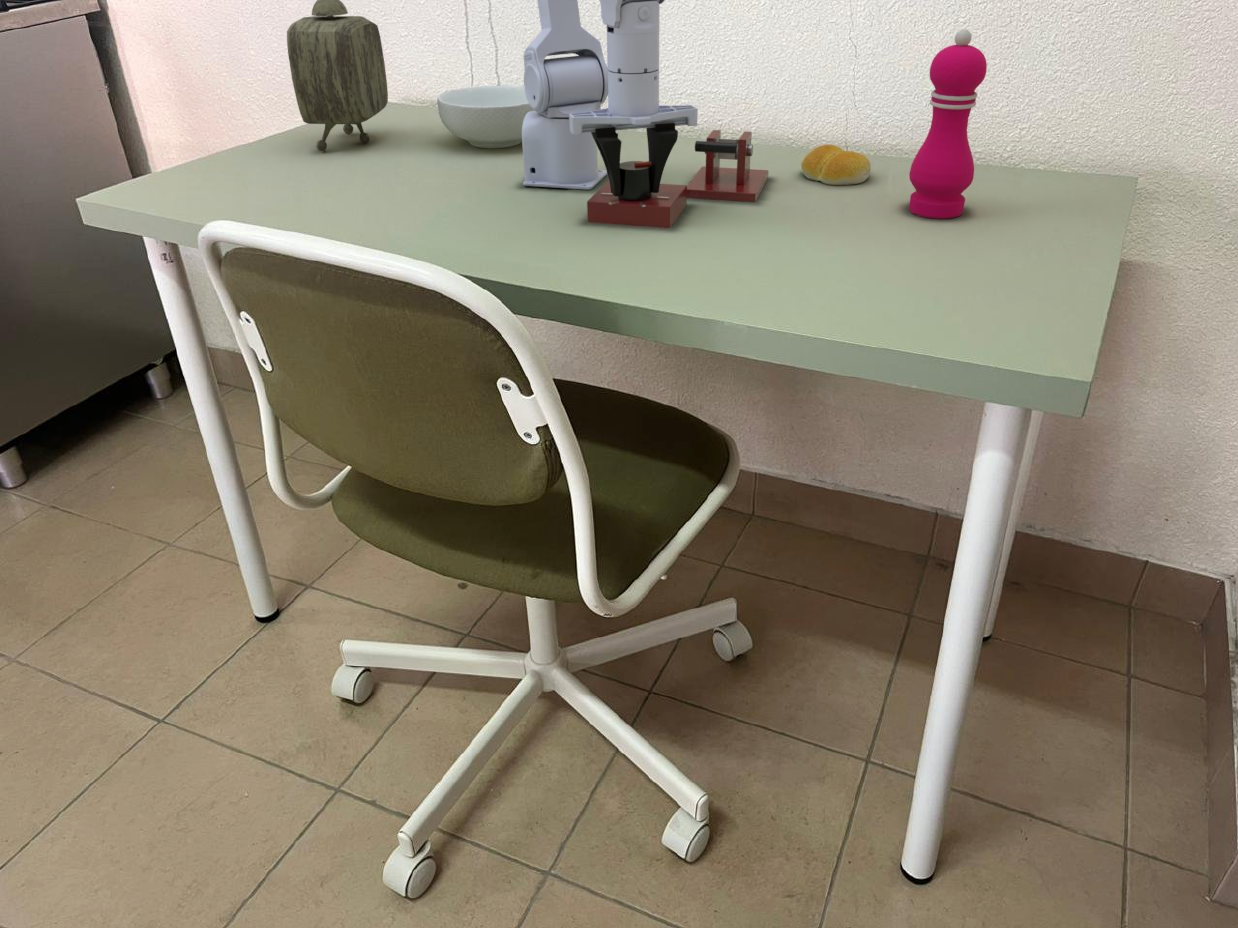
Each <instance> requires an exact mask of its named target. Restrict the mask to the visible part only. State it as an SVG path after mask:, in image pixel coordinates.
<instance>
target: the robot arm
mask: <svg viewBox="0 0 1238 928" xmlns="http://www.w3.org/2000/svg"><path fill="white" fill-rule="evenodd" d="M536 1H537V7H538V15H539V22H540V32H539V33H538V34H537V35H536V37H534V38H533V39H532V41H531V42H530V43H529V44H528V45H527V46H526V48H525V50H524V51H523V67H524V68H523V69H524V72H523V87H524V88H525V94H526V97H527V100H528V102H529V104H530V106H531V107H532V108H533V109H534V110H535V111H530V112H528V113H527V114H526V116H525V118H524V121H523V127H522V142H521V143H522V157H523V158H522V159H523V173H524V180H523V181H522V185H523V186H525V187H539V188H540V187H542V188H553V189H554V188H555V189H572V190H584V191H585V190H586V191H587V190H589V191H590V190H593V188H594V187H595V186H596V185H597V184H599V182H600V181H602V180H603V179H604V178H605V177H606V176H607V178H608V181H609V182H610V188H611V193H612V194H613V195H614V196H621V181H620V163H621V151H622V140H621V139H620V138H619V133H618V132H617V131H626V130H638V129H639V130H640V129H646V137H647V151H648V161H651V165H652V193H658V192H659V186H660V184H661V182H662V177H663V173H664V170H665V168H666V164H667V162H668V160H669V157H670V154H671V153H672V150H673V148H674V146H675V145H676V143H677V141H678V137H679V136H678V135H679V131H678V130H677V129H676V127H678V126H688V127H696V126H698V110H699V108H697V107H696V106H695V105H693V104H685V105H683V104H681V105H660V5H662V4H663V3H664V2H665V1H666V0H599V3H600V14H601V15H600V17H601V19H602V24H603V25H606V56H607V57H606V59H607V61H606V60H605V57H604V53H603V48H602V44H601V43H602V42H601V41H600V40H599V39H598V38H597V37H596V36H594V35H593V34H591V33H590V32H589V31H588V30H586V29H585V28H584V27H582V24H581V17H580V16H581V15H580V9H579V2H578V1H579V0H536ZM570 54H573V55H572V56H561V57H553V58H546V57H551V56H560V55H570ZM606 62H607V63H606ZM606 100H607V101H608V106H607V107H608V108H602V107H601V106H602V105H603V104H604V103H606ZM598 151H599V153H600V156H601V158H602V161H603V164H604V167H605V169H604V170H603V169H598Z"/></svg>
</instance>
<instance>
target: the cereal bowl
mask: <svg viewBox="0 0 1238 928" xmlns="http://www.w3.org/2000/svg"><path fill="white" fill-rule="evenodd" d="M436 101H437V109H438V114H439V118H440V121H441V123H442V124H443V126H444V127H445V128H446V130H447V131H448V132H449V133H451V134H452V135H453V136H454V137H455V136H456V137H457V138H459V139H462V140H464V141H467V142H468V143H469V144H470V146H473V147H476V148H480V149H482V148H483V149H502V148H510V147H514V146H517V145H519V144H521V143H522V127H523V121H524V118H525V116H526V114H527V113H528V112H530V111H535V110H534V109H533V108H532V107H531V106H530V104H529V102H528V100H527V97H526V94H525V88H524V86H521V85H520V86H519V85H479V86H468V87H459V88H455V89H454V88H453V89H450V90H446V91H443V92H442V93H441V92H440V94H438V96H437V100H436Z"/></svg>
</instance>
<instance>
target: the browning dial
mask: <svg viewBox="0 0 1238 928" xmlns="http://www.w3.org/2000/svg"><path fill="white" fill-rule="evenodd" d="M620 181H621V196H618V198H620V199H622V200H626V201H643V200H647V199H649V198H651V196H652V165H651V161H649V160H647V161H641V160H629V161H622V162H620Z"/></svg>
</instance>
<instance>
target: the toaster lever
mask: <svg viewBox="0 0 1238 928" xmlns="http://www.w3.org/2000/svg"><path fill="white" fill-rule="evenodd" d="M738 140H739V139H736V138H721V139H719V142H707V141H705V140H696V141H695V143H694V152H696V153H705V152H713V153H718V159H720V160H734V161H737V157H738Z"/></svg>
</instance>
